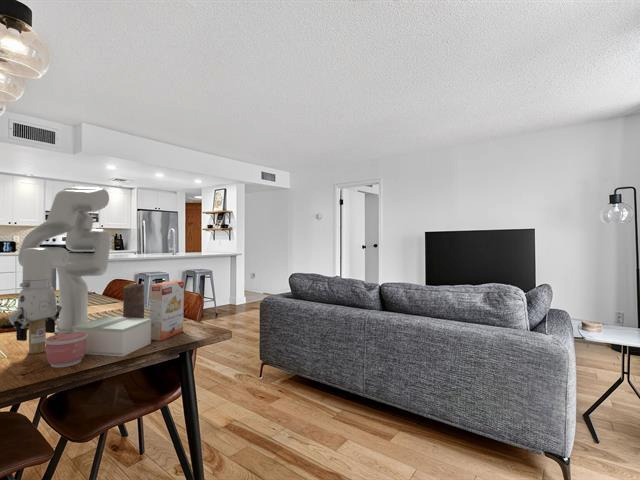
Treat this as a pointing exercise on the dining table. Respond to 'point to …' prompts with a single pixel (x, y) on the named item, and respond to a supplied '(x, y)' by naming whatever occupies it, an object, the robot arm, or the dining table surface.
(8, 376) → the dining table surface
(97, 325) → the lid
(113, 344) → the box
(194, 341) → the dining table surface
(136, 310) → the candle
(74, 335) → the container
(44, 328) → the sprinkles bottle
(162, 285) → the cracker box
